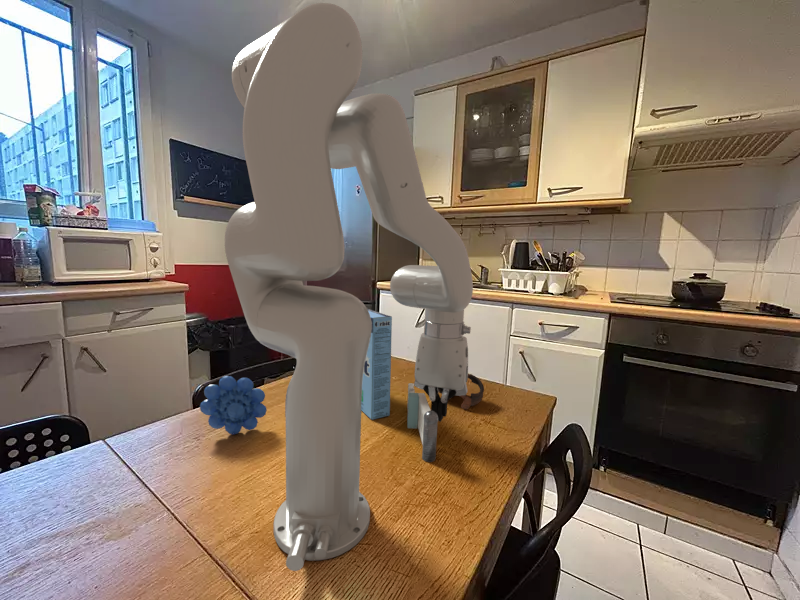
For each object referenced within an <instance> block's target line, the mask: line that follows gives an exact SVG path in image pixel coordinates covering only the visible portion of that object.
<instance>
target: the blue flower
mask: <svg viewBox="0 0 800 600" xmlns="http://www.w3.org/2000/svg"><path fill="white" fill-rule="evenodd" d="M203 393H204V396H205V398H207V399H204V400H203V401H202V402H200V405H199V410H200V412H201V413H202V414H203V415H206V416H209V417H208V420H207V422H208V425H209V426H210V427H211V428H213V429H214V430H218V429H222V428H224V429H225V432H227V434H230V435H236V434H239V433H240V432H241V431H242V428H244V429H245V430H247V431H251V430H254V429H255V428H257V425H258V418H263V417H264V416H265V415H266V414H267V410H268V409H267V406H266V405H265V404H264V403H262V402H263V401H265V398H266V393H265V391H264V390H262V389H261V388H258V387H256V388H255V387H254V382H253V381H252V380H251V379H250V377H249V378H248V377H241V378H239V379H238V380H236V378H234V377H233V376H231V375H230V376H229V375H224V376H222V377H221V378H219V381H218V384H209V385H207V386H205V388H204V391H203Z"/></svg>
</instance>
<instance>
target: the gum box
mask: <svg viewBox="0 0 800 600" xmlns="http://www.w3.org/2000/svg"><path fill="white" fill-rule="evenodd" d="M367 310H368V312H369V314H370V317H371V323H372V330H371V338H370V343H369V347H368V351H367V355H366V360H365V365H364V371H363V380H362V397H361V412H363V413H364V414H365V415H366V416H367V417H368V418H369V419H370V420H372V421H373V420H377V419H381V418H384V417H389V416H390V414H391V412H390V411H391V379H392V378H391V376H392V375H391V372H392V371H391V370H392V332H393V331H392V326H393V323H392V322H393V317H392V316H391V315H388V314H385V313H381V312H379V311H375V310H373V309H369V308H367Z"/></svg>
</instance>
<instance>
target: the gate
mask: <svg viewBox="0 0 800 600" xmlns="http://www.w3.org/2000/svg"><path fill="white" fill-rule="evenodd" d="M417 393H418V396H419V400H418V421H417V429H418V432H419V436H420V441H421V444H422V446H423V430H424V414H425V413H426V412H427V411H431V406H430V405H429V402H428V399H427V396H426V392H417Z"/></svg>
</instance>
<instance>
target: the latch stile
mask: <svg viewBox="0 0 800 600" xmlns="http://www.w3.org/2000/svg"><path fill="white" fill-rule="evenodd" d="M418 393H419V392H415V393H409V395H408V394H407V404H408V409H407V422H406V425H407V427H406V428H407V429H418V425H417V421H418V400H419V396H418Z"/></svg>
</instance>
